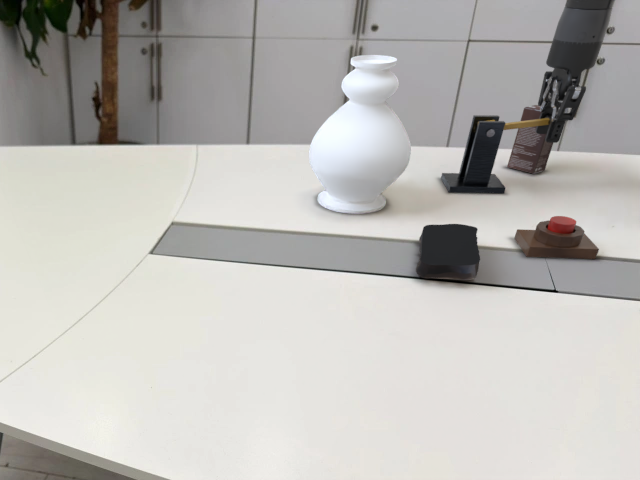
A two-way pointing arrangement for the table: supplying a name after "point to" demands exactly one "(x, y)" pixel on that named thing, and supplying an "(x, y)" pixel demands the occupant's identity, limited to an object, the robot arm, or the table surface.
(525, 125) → the switch lever
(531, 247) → the button block
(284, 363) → the table surface
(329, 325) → the table surface
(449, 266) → the black sponge
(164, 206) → the table surface
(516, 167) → the box
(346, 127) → the decorative vase
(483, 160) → the switch bracket
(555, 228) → the red button
